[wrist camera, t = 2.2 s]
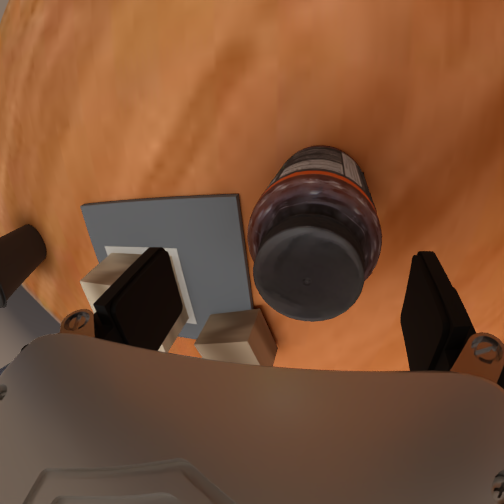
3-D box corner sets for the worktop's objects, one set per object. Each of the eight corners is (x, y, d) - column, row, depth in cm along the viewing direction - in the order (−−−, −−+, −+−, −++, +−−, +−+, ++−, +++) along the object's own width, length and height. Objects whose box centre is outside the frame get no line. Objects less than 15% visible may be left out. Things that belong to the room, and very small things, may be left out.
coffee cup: (43, 277, 35) (-4, 319, 26) (12, 232, 32) (-37, 268, 24) (60, 255, 31) (4, 303, 23) (26, 203, 29) (-35, 241, 20)
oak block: (259, 308, 26) (247, 341, 22) (277, 348, 28) (268, 380, 24) (210, 314, 28) (193, 344, 24) (231, 351, 30) (218, 381, 26)
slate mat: (238, 193, 22) (235, 197, 21) (258, 343, 29) (256, 348, 28) (84, 203, 26) (79, 206, 25) (127, 322, 33) (124, 326, 33)
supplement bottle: (356, 233, 21) (363, 353, 11) (275, 218, 22) (224, 325, 12) (373, 152, 18) (414, 222, 8) (283, 136, 19) (226, 187, 9)
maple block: (171, 255, 25) (140, 289, 21) (188, 318, 29) (166, 354, 24) (111, 252, 27) (79, 281, 23) (132, 309, 31) (107, 340, 26)
